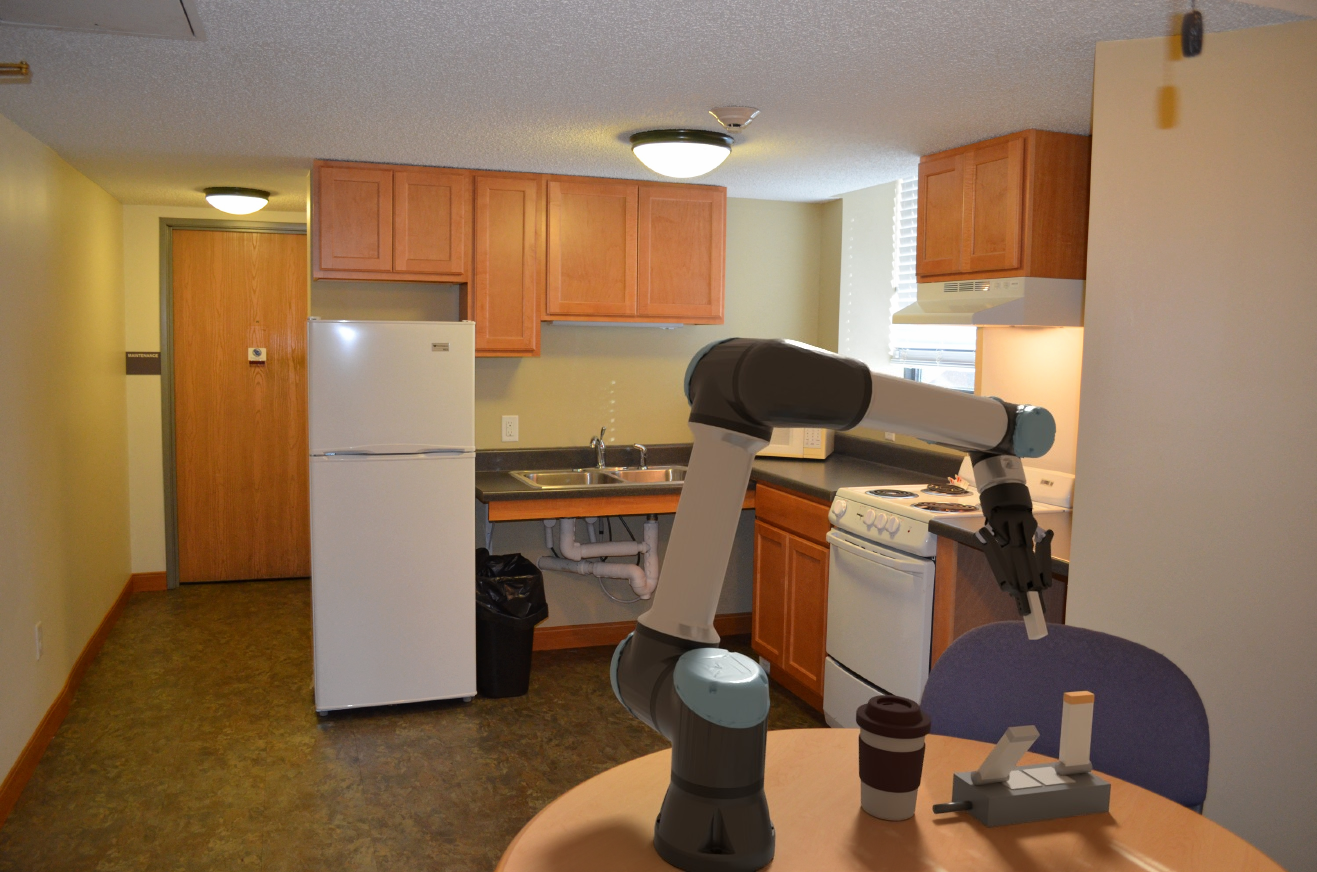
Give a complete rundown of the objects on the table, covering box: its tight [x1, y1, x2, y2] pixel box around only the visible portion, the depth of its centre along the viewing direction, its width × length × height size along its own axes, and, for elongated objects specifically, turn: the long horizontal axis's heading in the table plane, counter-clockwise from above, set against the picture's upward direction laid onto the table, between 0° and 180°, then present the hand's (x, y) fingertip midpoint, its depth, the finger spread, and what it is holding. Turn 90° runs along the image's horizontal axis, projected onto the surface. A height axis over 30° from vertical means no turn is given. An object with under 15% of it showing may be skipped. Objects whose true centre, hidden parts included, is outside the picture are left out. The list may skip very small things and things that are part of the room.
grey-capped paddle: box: [971, 724, 1041, 785], centre depth 130 cm, size 5×2×12 cm
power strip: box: [931, 761, 1112, 828], centre depth 135 cm, size 26×8×4 cm, turn 108°
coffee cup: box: [855, 694, 932, 821], centre depth 132 cm, size 10×10×15 cm
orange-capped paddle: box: [1055, 690, 1095, 775], centre depth 137 cm, size 5×2×12 cm, turn 108°
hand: (1038, 636), depth 142 cm, fingers closed
